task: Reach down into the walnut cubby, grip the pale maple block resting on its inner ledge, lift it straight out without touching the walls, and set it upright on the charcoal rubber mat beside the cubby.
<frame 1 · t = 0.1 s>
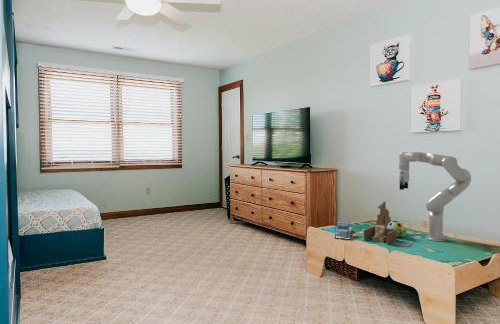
hand: (403, 188, 288), 37 cm above the table, tool pointing down, fingers open, 9 cm apart
wooden toy: (384, 231, 300), on the table
slot stand: (379, 240, 273), on the table
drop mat: (402, 244, 261), on the table
truck: (343, 235, 291), on the table
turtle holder: (396, 237, 283), on the table
maple block: (379, 236, 273), point 3 cm above the table, touching slot stand
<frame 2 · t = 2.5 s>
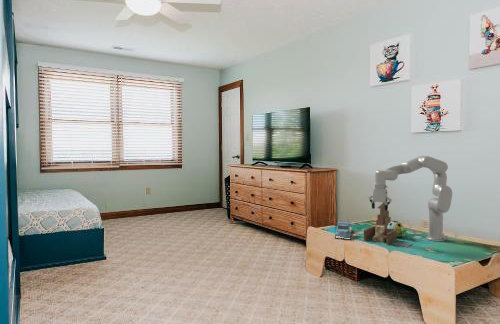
hand: (379, 209, 271), 24 cm above the table, tool pointing down, fingers open, 9 cm apart
nothing on the table moved.
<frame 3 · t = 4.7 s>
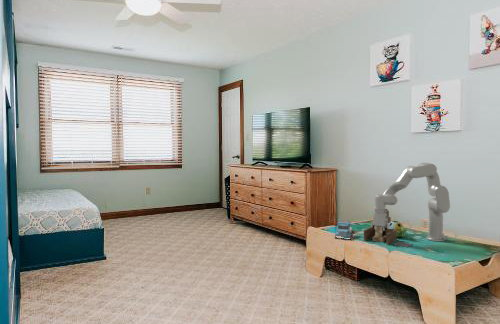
hand: (379, 234, 273), 4 cm above the table, tool pointing down, fingers closed on maple block, 5 cm apart
maple block: (379, 236, 273), point 3 cm above the table, touching gripper, slot stand
everything else where it was.
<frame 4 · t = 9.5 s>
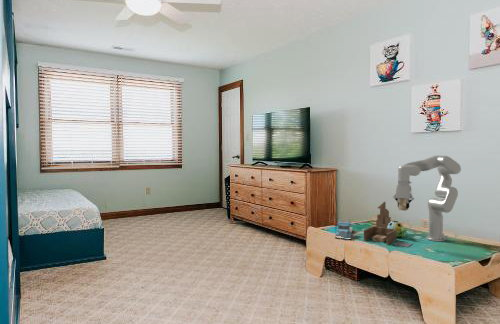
hand: (403, 207, 260), 27 cm above the table, tool pointing down, fingers closed on maple block, 5 cm apart
maple block: (403, 209, 260), point 26 cm above the table, touching gripper
everything else where it was.
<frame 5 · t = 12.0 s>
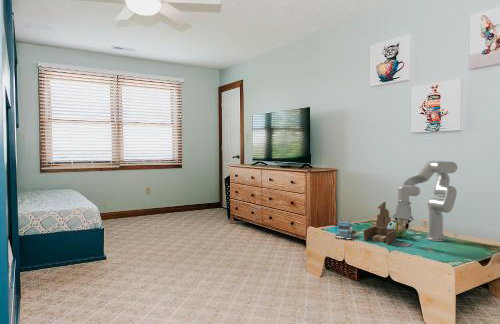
hand: (402, 227, 261), 12 cm above the table, tool pointing down, fingers closed on maple block, 5 cm apart
maple block: (402, 229, 261), point 11 cm above the table, touching gripper
everything else where it was.
when the fingers open (3 cm above the table, at t = 14.2 s): maple block drops 2 cm, resting on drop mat.
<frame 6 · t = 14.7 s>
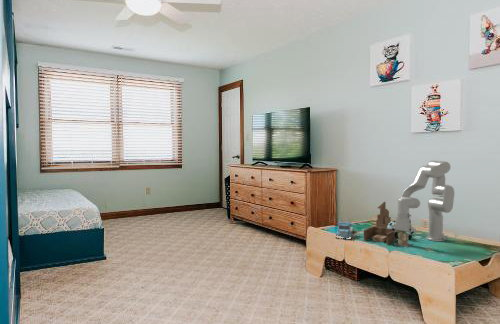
hand: (402, 238, 261), 4 cm above the table, tool pointing down, fingers open, 9 cm apart
maple block: (403, 244, 261), resting on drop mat
everything else where it was.
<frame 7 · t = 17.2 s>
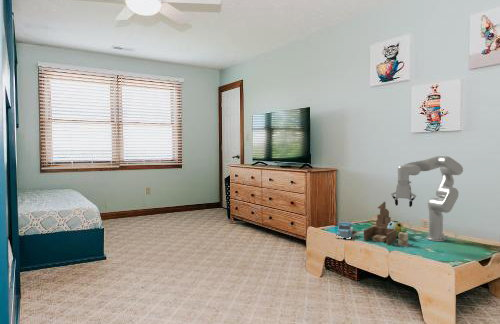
hand: (403, 205, 263), 28 cm above the table, tool pointing down, fingers open, 9 cm apart
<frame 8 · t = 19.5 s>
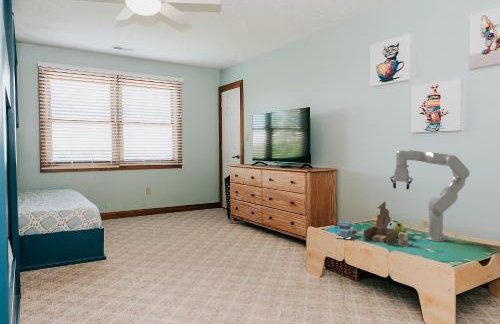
hand: (401, 188, 278), 38 cm above the table, tool pointing down, fingers open, 9 cm apart
at the end: maple block inside the target area on the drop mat (0.2 cm from its centre), point 0.4 cm above the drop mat's base; maple block tilted 0°; the gripper is holding nothing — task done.
